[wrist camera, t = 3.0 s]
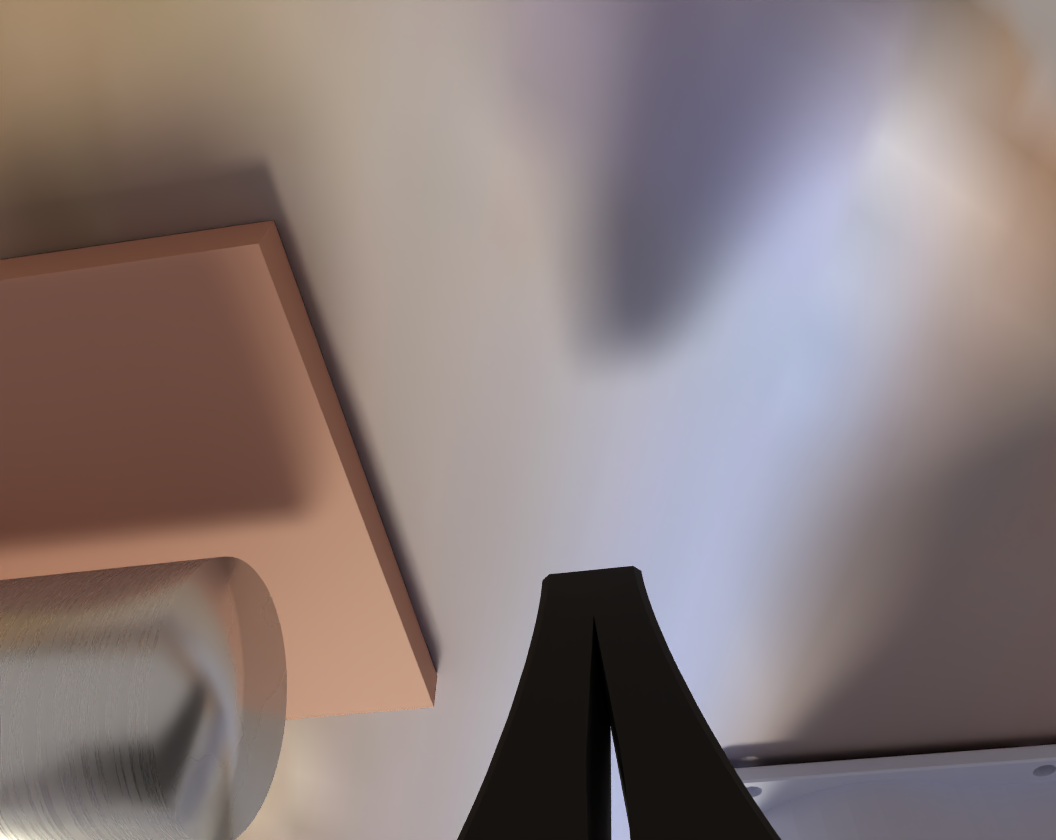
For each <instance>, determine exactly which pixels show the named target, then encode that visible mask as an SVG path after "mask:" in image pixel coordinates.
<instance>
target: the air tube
mask: <svg viewBox="0 0 1056 840" xmlns="http://www.w3.org/2000/svg"><path fill="white" fill-rule="evenodd" d="M286 705H287V668H286V656H285V648H284V641H283V635H282V630H281V625H280V622H279V618H278V614H277V611H276V608H275V605H274V602H273V600H272V597H271V595H270V593H269V591H268V589H267V587H266V585H265V584H264V582H263V580H262V579H261V577H260V576H259V575H258V573H257V572H256V571H255V570H254V569H253V568H252V567H251V566H250V565H249V564H247V563H246V562H244V561H243V560H241V559H238V558H235V557H226V556H224V557H215V558H205V559H196V560H186V561H177V562H167V563H158V564H148V565H139V566H129V567H120V568H110V569H101V570H91V571H82V572H72V573H63V574H53V575H44V576H34V577H25V578H15V579H6V580H0V840H234V839H236V838H237V837H239V836H240V835H241V834H242V833H243V832H244V831H245V830H246V829H247V827H248V826H249V825H250V823H251V822H252V821H253V820H254V818H255V816H256V815H257V813H258V811H259V810H260V808H261V806H262V804H263V802H264V800H265V798H266V796H267V793H268V791H269V788H270V785H271V783H272V780H273V777H274V774H275V770H276V767H277V763H278V759H279V755H280V751H281V745H282V740H283V734H284V726H285V718H286Z"/></svg>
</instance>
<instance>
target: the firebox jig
mask: <svg viewBox="0 0 1056 840" xmlns="http://www.w3.org/2000/svg"><path fill="white" fill-rule="evenodd" d="M224 556H226V557H235V558H238V559H241V560H243V561H244V562H246V563H247V564H249V565H250V566H251V567H252V568H253V569H254V570H255V571H256V572H257V573H258V575H259V576H260V577H261V579H262V580H263V582H264V584H265V585H266V587H267V589H268V591H269V593H270V595H271V597H272V600H273V602H274V605H275V608H276V611H277V614H278V618H279V622H280V625H281V630H282V635H283V641H284V648H285V656H286V668H287V705H286V718H285V720H287V719H299V718H311V717H322V716H334V715H346V714H358V713H370V712H381V711H393V710H405V709H417V708H429V707H434V700H435V691H436V682H437V674H436V671H435V668H434V665H433V663H432V660H431V657H430V654H429V652H428V649H427V646H426V643H425V640H424V638H423V635H422V632H421V629H420V626H419V624H418V621H417V618H416V615H415V613H414V610H413V607H412V604H411V601H410V599H409V596H408V593H407V590H406V587H405V585H404V582H403V579H402V576H401V574H400V571H399V568H398V565H397V562H396V560H395V557H394V554H393V551H392V548H391V546H390V543H389V540H388V537H387V535H386V532H385V529H384V526H383V523H382V521H381V518H380V515H379V512H378V509H377V507H376V504H375V501H374V498H373V496H372V493H371V490H370V487H369V484H368V482H367V479H366V476H365V473H364V471H363V468H362V465H361V462H360V459H359V457H358V454H357V451H356V448H355V445H354V443H353V440H352V437H351V434H350V432H349V429H348V426H347V423H346V420H345V418H344V415H343V412H342V409H341V406H340V404H339V401H338V398H337V395H336V393H335V390H334V387H333V384H332V381H331V379H330V376H329V373H328V370H327V367H326V365H325V362H324V359H323V356H322V354H321V351H320V348H319V345H318V342H317V340H316V337H315V334H314V331H313V328H312V326H311V323H310V320H309V317H308V315H307V312H306V309H305V306H304V303H303V301H302V298H301V295H300V292H299V289H298V287H297V284H296V281H295V278H294V276H293V273H292V270H291V267H290V264H289V262H288V259H287V256H286V253H285V251H284V248H283V245H282V242H281V239H280V237H279V234H278V231H277V228H276V225H275V223H274V220H273V221H266V222H259V223H252V224H245V225H238V226H231V227H224V228H217V229H211V230H204V231H197V232H190V233H183V234H176V235H169V236H162V237H155V238H148V239H142V240H135V241H128V242H121V243H114V244H107V245H100V246H93V247H86V248H79V249H73V250H66V251H59V252H52V253H45V254H38V255H31V256H24V257H17V258H10V259H4V260H0V580H6V579H15V578H25V577H34V576H44V575H53V574H63V573H72V572H82V571H91V570H101V569H110V568H120V567H129V566H139V565H148V564H158V563H167V562H177V561H186V560H196V559H205V558H215V557H224Z"/></svg>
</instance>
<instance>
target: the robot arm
mask: <svg viewBox="0 0 1056 840" xmlns="http://www.w3.org/2000/svg"><path fill="white" fill-rule="evenodd" d="M610 726H611V728H610ZM611 731H612V736H613V742H614V747H615V752H616V758H617V763H618V769H619V774H620V779H621V785H622V790H623V796H624V801H625V806H626V812H627V817H628V823H629V828H630V839H631V840H1056V744H1052V745H1039V746H1026V747H1012V748H999V749H986V750H972V751H959V752H946V753H932V754H919V755H906V756H892V757H879V758H865V759H852V760H839V761H825V762H812V763H799V764H785V765H772V766H759V767H745V768H734V767H733V766H732V764H731V763H730V761H729V759H728V758H727V756H726V754H725V753H724V751H723V749H722V748H721V746H720V744H719V742H718V741H717V739H716V737H715V736H714V734H713V732H712V731H711V729H710V727H709V725H708V724H707V722H706V720H705V718H704V716H703V715H702V713H701V711H700V709H699V707H698V706H697V704H696V702H695V700H694V698H693V696H692V694H691V692H690V690H689V688H688V686H687V684H686V682H685V681H684V679H683V677H682V675H681V673H680V671H679V669H678V667H677V665H676V663H675V661H674V659H673V657H672V654H671V652H670V650H669V648H668V646H667V643H666V641H665V639H664V637H663V634H662V632H661V630H660V627H659V625H658V623H657V620H656V617H655V615H654V612H653V610H652V607H651V604H650V601H649V598H648V595H647V592H646V589H645V585H644V582H643V577H642V572H641V571H640V570H639V569H637V568H636V567H634V566H628V567H618V568H608V569H598V570H588V571H578V572H568V573H558V574H549V575H548V576H547V577H546V578H545V579H544V580H543V582H542V590H541V598H540V604H539V609H538V614H537V619H536V624H535V628H534V632H533V636H532V640H531V644H530V648H529V651H528V655H527V659H526V663H525V666H524V669H523V672H522V675H521V678H520V682H519V685H518V688H517V691H516V694H515V698H514V701H513V704H512V707H511V710H510V713H509V716H508V719H507V721H506V724H505V727H504V729H503V732H502V734H501V737H500V740H499V742H498V745H497V748H496V750H495V753H494V755H493V758H492V761H491V763H490V766H489V769H488V771H487V774H486V776H485V778H484V781H483V783H482V785H481V788H480V790H479V793H478V795H477V797H476V800H475V802H474V804H473V806H472V809H471V811H470V813H469V815H468V817H467V820H466V822H465V824H464V826H463V828H462V830H461V832H460V835H459V837H458V839H457V840H611Z"/></svg>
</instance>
